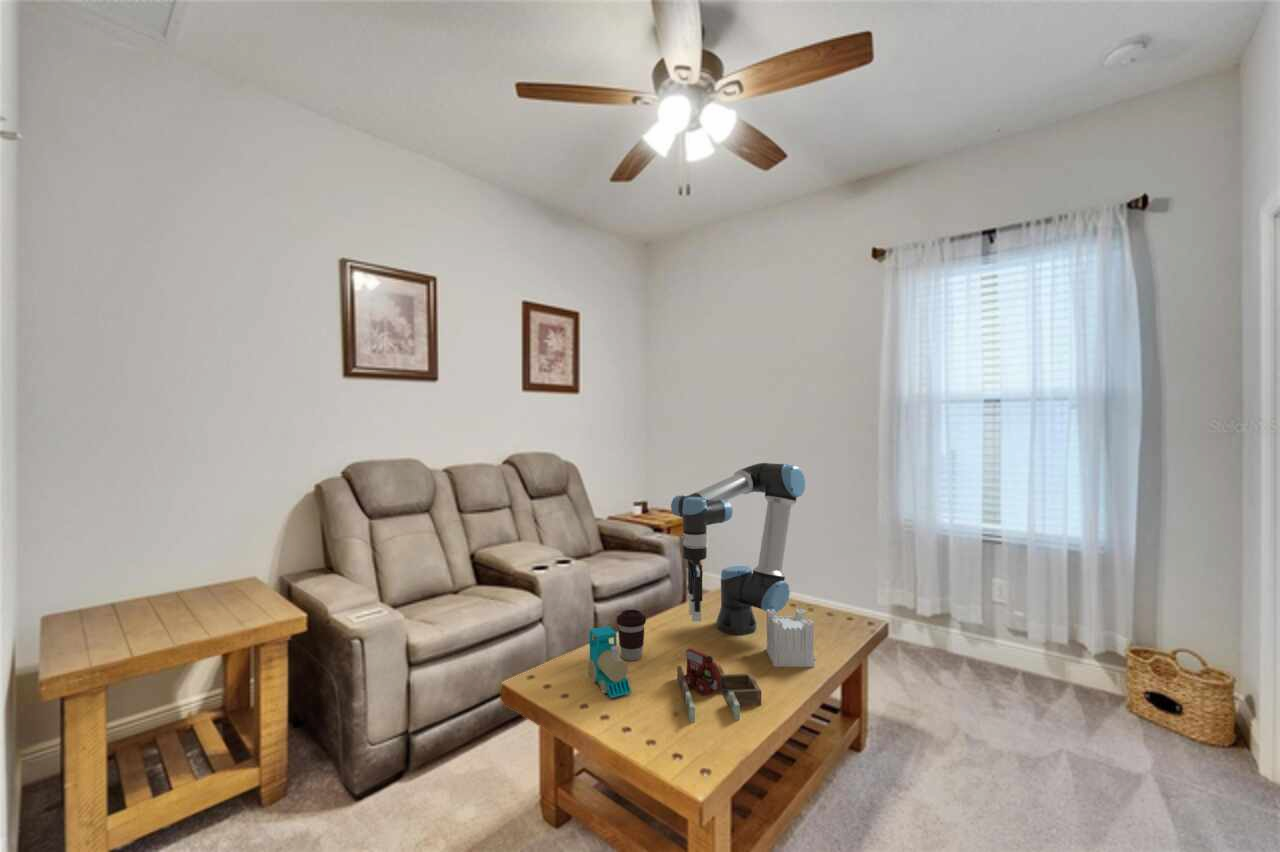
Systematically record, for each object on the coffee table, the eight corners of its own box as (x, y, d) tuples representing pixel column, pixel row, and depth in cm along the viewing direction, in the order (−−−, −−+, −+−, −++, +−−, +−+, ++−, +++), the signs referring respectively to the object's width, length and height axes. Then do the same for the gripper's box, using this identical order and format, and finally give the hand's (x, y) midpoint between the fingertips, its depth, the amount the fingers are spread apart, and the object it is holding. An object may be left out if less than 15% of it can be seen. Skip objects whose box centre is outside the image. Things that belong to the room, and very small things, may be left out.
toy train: (608, 701, 155) (608, 649, 155) (587, 677, 170) (587, 629, 170) (633, 695, 159) (633, 644, 159) (610, 671, 174) (610, 625, 173)
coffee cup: (652, 656, 185) (651, 612, 184) (631, 666, 177) (631, 620, 177) (631, 647, 191) (630, 605, 191) (610, 657, 184) (610, 613, 184)
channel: (677, 678, 168) (677, 666, 168) (719, 677, 169) (719, 664, 169) (690, 722, 144) (690, 707, 144) (739, 719, 145) (739, 704, 145)
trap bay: (721, 688, 163) (720, 674, 162) (751, 686, 163) (751, 673, 163) (729, 706, 152) (729, 692, 152) (761, 704, 153) (761, 690, 153)
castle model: (766, 649, 189) (766, 608, 189) (809, 650, 189) (809, 609, 188) (774, 666, 176) (774, 623, 176) (820, 667, 176) (820, 623, 176)
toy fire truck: (711, 699, 156) (711, 663, 156) (679, 684, 165) (679, 650, 165) (726, 691, 161) (726, 656, 161) (694, 677, 170) (694, 644, 170)
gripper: (679, 539, 183) (679, 608, 183) (687, 553, 165) (688, 628, 165) (701, 539, 183) (701, 607, 184) (712, 552, 166) (712, 628, 166)
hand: (695, 617), depth 175 cm, fingers open, 5 cm apart
